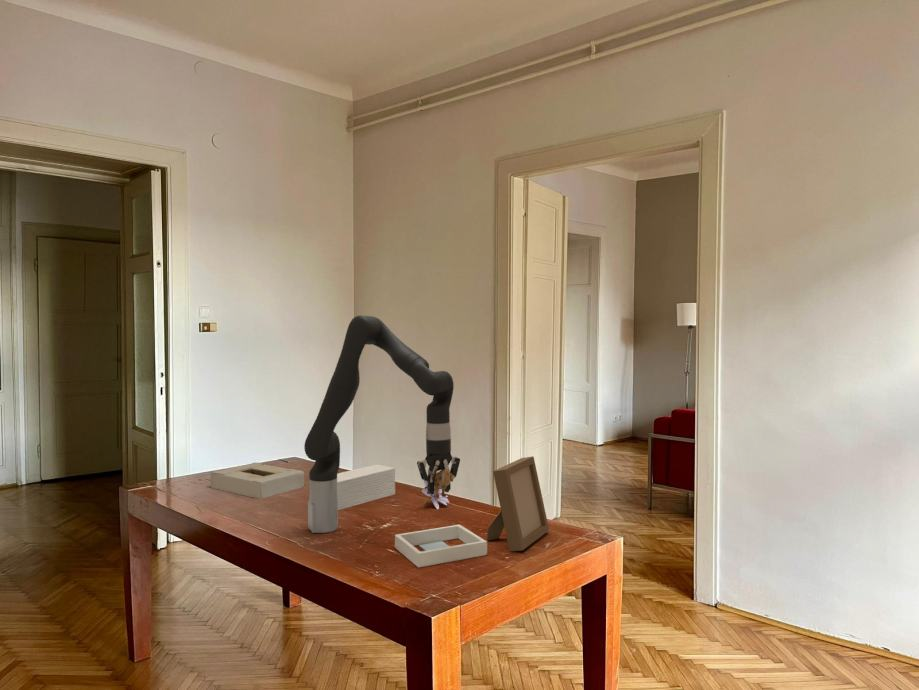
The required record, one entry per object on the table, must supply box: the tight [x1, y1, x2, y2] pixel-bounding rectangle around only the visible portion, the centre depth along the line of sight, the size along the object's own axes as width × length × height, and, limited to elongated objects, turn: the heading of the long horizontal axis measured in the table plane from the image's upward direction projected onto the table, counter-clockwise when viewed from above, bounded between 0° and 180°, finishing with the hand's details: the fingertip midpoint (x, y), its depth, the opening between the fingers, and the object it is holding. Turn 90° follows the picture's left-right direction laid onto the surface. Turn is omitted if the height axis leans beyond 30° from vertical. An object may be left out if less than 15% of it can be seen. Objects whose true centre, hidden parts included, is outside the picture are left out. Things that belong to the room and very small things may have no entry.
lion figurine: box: [423, 468, 456, 499], centre depth 204 cm, size 15×5×9 cm, turn 34°
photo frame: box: [485, 456, 550, 552], centre depth 213 cm, size 15×22×25 cm
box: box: [210, 462, 305, 500], centre depth 280 cm, size 23×8×32 cm
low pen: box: [394, 524, 488, 568], centre depth 203 cm, size 22×18×4 cm
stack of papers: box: [337, 464, 396, 511], centre depth 260 cm, size 32×11×11 cm, turn 139°
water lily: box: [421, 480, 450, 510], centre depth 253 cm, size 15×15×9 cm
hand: (439, 492), depth 203 cm, fingers closed on lion figurine, 4 cm apart
